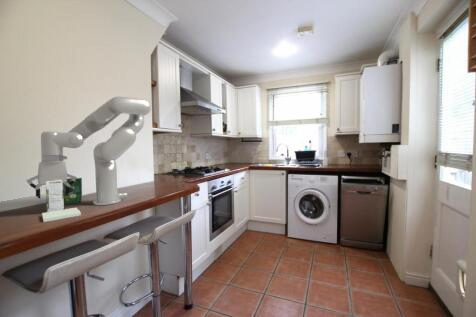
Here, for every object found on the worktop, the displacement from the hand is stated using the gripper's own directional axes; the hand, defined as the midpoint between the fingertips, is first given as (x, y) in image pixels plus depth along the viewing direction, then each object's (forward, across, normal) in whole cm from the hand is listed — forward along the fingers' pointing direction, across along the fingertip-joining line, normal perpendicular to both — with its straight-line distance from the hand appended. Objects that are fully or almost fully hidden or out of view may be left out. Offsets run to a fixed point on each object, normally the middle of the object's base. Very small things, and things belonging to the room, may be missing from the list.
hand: (53, 196), depth 100 cm
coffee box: (+7, -9, -12) cm, 16 cm away
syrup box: (+7, -1, 0) cm, 7 cm away
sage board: (+7, -2, +11) cm, 13 cm away
